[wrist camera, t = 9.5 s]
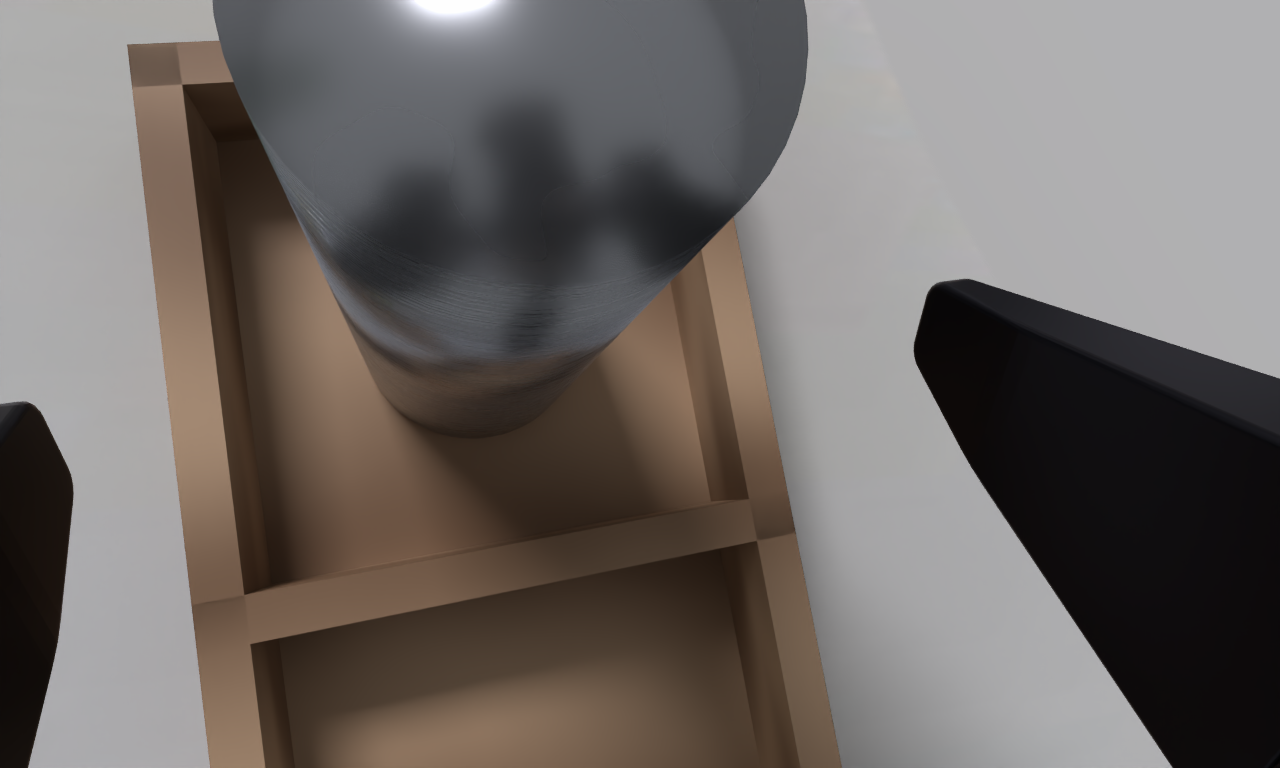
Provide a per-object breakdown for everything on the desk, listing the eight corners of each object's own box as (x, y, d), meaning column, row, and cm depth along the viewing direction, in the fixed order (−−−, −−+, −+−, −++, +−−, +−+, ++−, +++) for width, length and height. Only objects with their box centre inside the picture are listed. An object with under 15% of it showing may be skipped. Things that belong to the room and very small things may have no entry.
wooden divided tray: (825, 984, 18) (902, 1078, 15) (306, 1166, 16) (274, 1322, 13) (656, 95, 21) (694, 20, 18) (180, 125, 18) (127, 45, 15)
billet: (619, 328, 19) (909, 22, 7) (480, 483, 18) (558, 412, 6) (466, 188, 18) (510, -365, 7) (313, 336, 17) (59, -35, 6)
